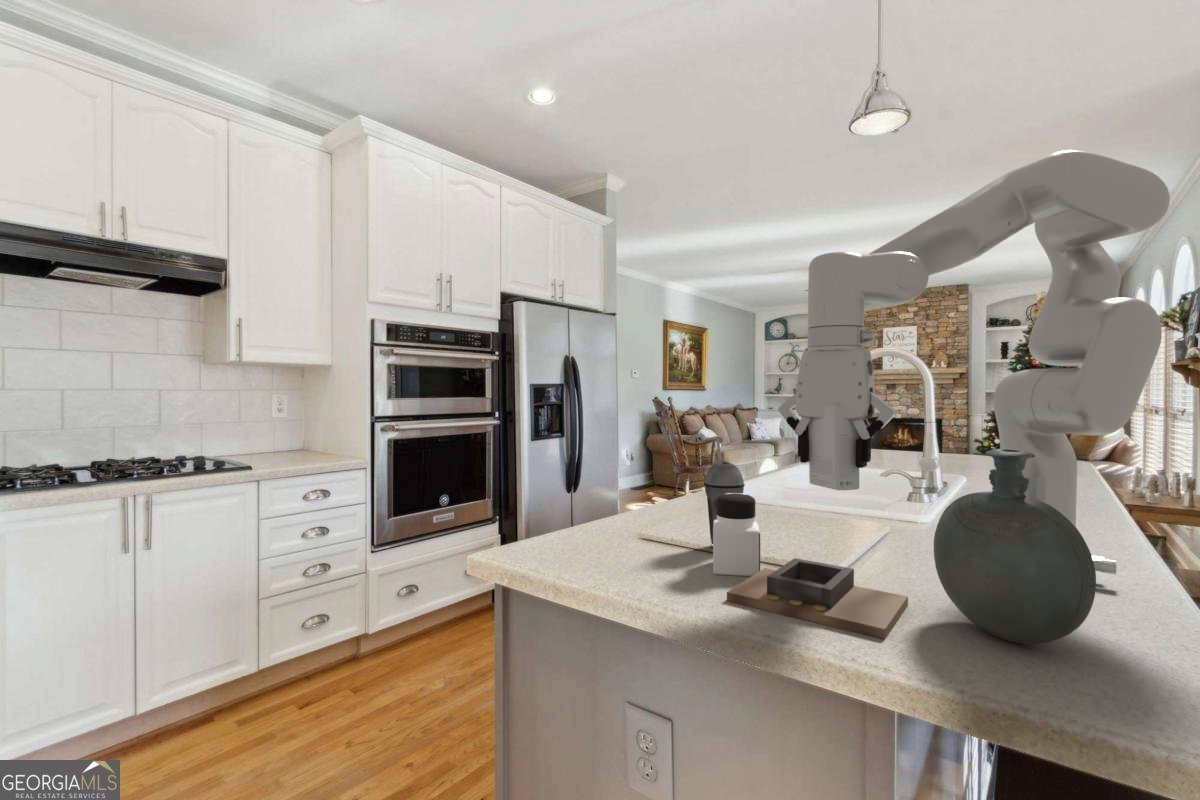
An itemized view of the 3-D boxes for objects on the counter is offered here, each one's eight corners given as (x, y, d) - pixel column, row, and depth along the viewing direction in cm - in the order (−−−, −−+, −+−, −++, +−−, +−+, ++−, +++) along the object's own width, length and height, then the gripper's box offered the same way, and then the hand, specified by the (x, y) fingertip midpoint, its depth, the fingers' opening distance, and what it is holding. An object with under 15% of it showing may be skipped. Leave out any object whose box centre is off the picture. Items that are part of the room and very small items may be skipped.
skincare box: (861, 489, 83) (862, 403, 82) (835, 491, 81) (836, 404, 81) (830, 482, 88) (831, 402, 88) (805, 484, 87) (807, 402, 87)
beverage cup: (749, 553, 103) (749, 439, 102) (707, 553, 103) (707, 439, 102) (739, 541, 110) (739, 435, 109) (700, 542, 110) (700, 436, 109)
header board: (907, 605, 78) (908, 577, 78) (884, 639, 68) (885, 607, 68) (764, 575, 91) (764, 552, 90) (726, 600, 80) (726, 574, 80)
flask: (1002, 671, 60) (1005, 459, 60) (918, 607, 77) (919, 442, 77) (1118, 672, 60) (1122, 458, 59) (1008, 608, 77) (1010, 441, 76)
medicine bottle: (760, 577, 90) (760, 499, 90) (713, 574, 91) (712, 498, 91) (757, 563, 97) (757, 491, 97) (713, 561, 98) (713, 490, 98)
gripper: (907, 340, 82) (905, 467, 82) (786, 345, 93) (784, 456, 93) (894, 336, 76) (892, 473, 76) (766, 342, 87) (765, 461, 87)
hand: (833, 463), depth 85 cm, fingers closed on skincare box, 7 cm apart
